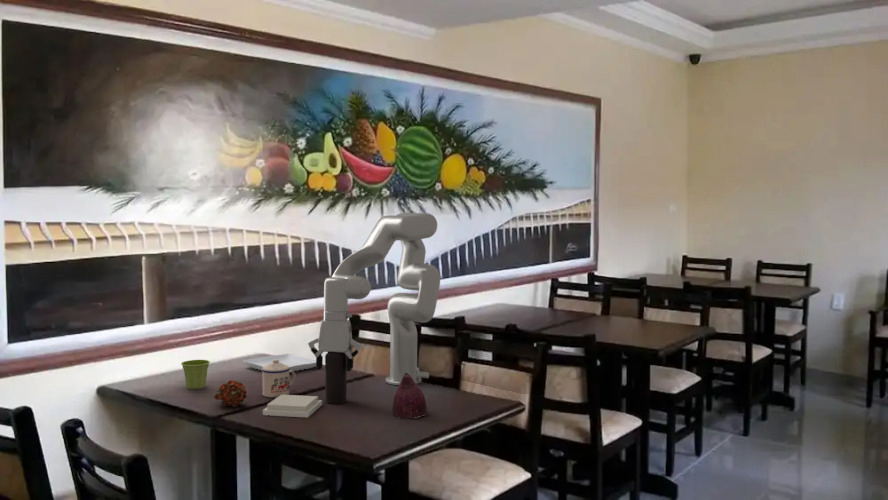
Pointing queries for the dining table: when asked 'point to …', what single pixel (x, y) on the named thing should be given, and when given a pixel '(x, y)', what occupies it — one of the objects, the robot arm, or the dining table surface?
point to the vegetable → (409, 399)
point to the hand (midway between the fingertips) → (334, 369)
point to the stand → (293, 406)
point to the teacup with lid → (276, 379)
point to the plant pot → (195, 373)
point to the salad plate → (287, 359)
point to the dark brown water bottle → (335, 377)
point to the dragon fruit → (231, 393)
